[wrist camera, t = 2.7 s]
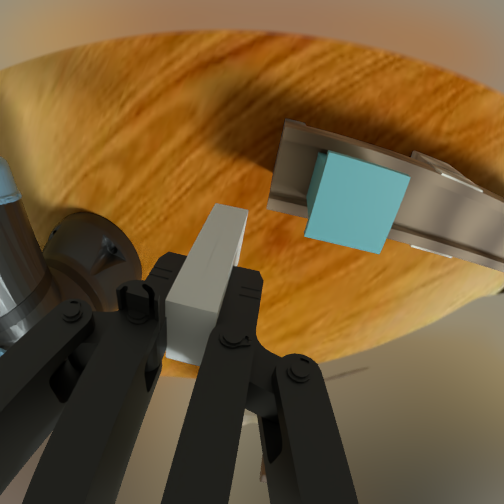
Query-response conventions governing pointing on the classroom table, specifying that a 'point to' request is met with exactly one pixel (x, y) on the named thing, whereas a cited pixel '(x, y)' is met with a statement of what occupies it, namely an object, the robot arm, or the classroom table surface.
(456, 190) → the wooden bench
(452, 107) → the classroom table surface
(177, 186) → the classroom table surface
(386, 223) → the rider
